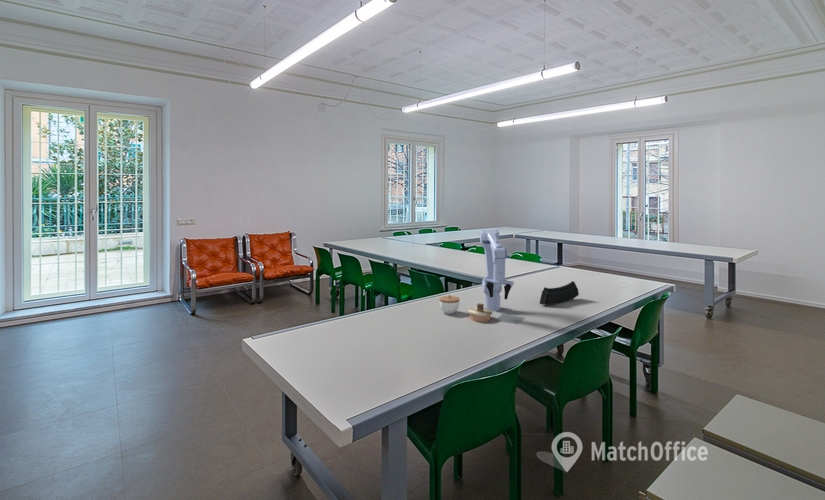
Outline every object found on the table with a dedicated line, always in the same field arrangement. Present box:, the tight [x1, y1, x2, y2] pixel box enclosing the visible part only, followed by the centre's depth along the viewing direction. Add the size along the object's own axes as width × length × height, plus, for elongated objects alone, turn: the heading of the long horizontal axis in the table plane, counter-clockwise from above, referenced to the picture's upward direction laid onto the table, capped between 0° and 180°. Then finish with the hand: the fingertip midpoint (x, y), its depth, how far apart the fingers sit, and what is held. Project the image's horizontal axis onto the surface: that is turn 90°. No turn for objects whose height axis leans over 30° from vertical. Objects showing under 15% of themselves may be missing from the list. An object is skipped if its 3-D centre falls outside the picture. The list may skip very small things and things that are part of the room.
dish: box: [469, 314, 491, 323], centre depth 216 cm, size 10×10×4 cm
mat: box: [494, 313, 526, 325], centre depth 215 cm, size 12×12×1 cm
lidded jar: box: [439, 294, 460, 315], centre depth 228 cm, size 11×11×9 cm
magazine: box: [539, 280, 580, 306], centre depth 247 cm, size 17×3×30 cm
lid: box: [467, 303, 493, 316], centre depth 216 cm, size 12×12×4 cm
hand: (498, 298), depth 217 cm, fingers open, 7 cm apart
